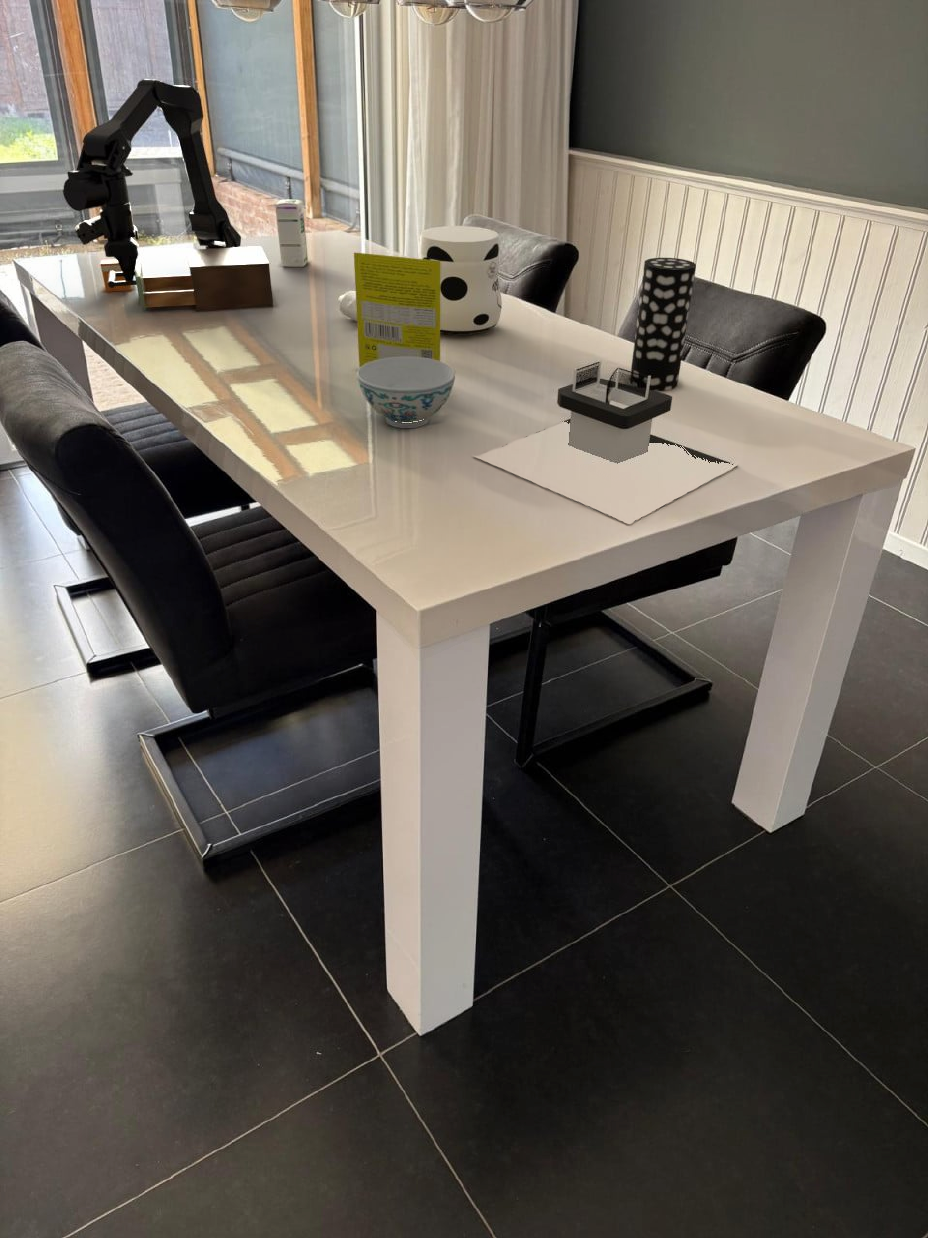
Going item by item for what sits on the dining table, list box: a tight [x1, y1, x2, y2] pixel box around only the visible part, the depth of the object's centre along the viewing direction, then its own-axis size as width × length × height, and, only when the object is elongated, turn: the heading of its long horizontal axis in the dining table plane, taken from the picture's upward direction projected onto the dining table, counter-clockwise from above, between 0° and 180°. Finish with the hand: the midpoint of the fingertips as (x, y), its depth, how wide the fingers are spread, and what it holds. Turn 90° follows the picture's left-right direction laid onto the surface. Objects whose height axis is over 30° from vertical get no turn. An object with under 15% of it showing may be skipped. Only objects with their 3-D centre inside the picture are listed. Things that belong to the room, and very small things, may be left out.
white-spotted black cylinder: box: [630, 257, 697, 392], centre depth 152 cm, size 8×8×20 cm
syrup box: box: [274, 198, 309, 268], centre depth 220 cm, size 6×6×14 cm
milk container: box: [418, 225, 503, 336], centre depth 177 cm, size 17×17×18 cm
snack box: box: [100, 259, 133, 293], centre depth 200 cm, size 6×3×6 cm, turn 107°
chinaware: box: [356, 357, 456, 429], centre depth 139 cm, size 15×15×8 cm
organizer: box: [186, 246, 274, 312], centre depth 194 cm, size 16×16×9 cm
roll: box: [337, 290, 357, 323], centre depth 184 cm, size 6×12×6 cm, turn 35°
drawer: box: [108, 258, 196, 310], centre depth 191 cm, size 22×16×6 cm
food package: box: [353, 252, 441, 369], centre depth 152 cm, size 15×1×20 cm, turn 71°
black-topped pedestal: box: [556, 360, 734, 465], centre depth 125 cm, size 28×26×13 cm
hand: (129, 283), depth 189 cm, fingers closed
